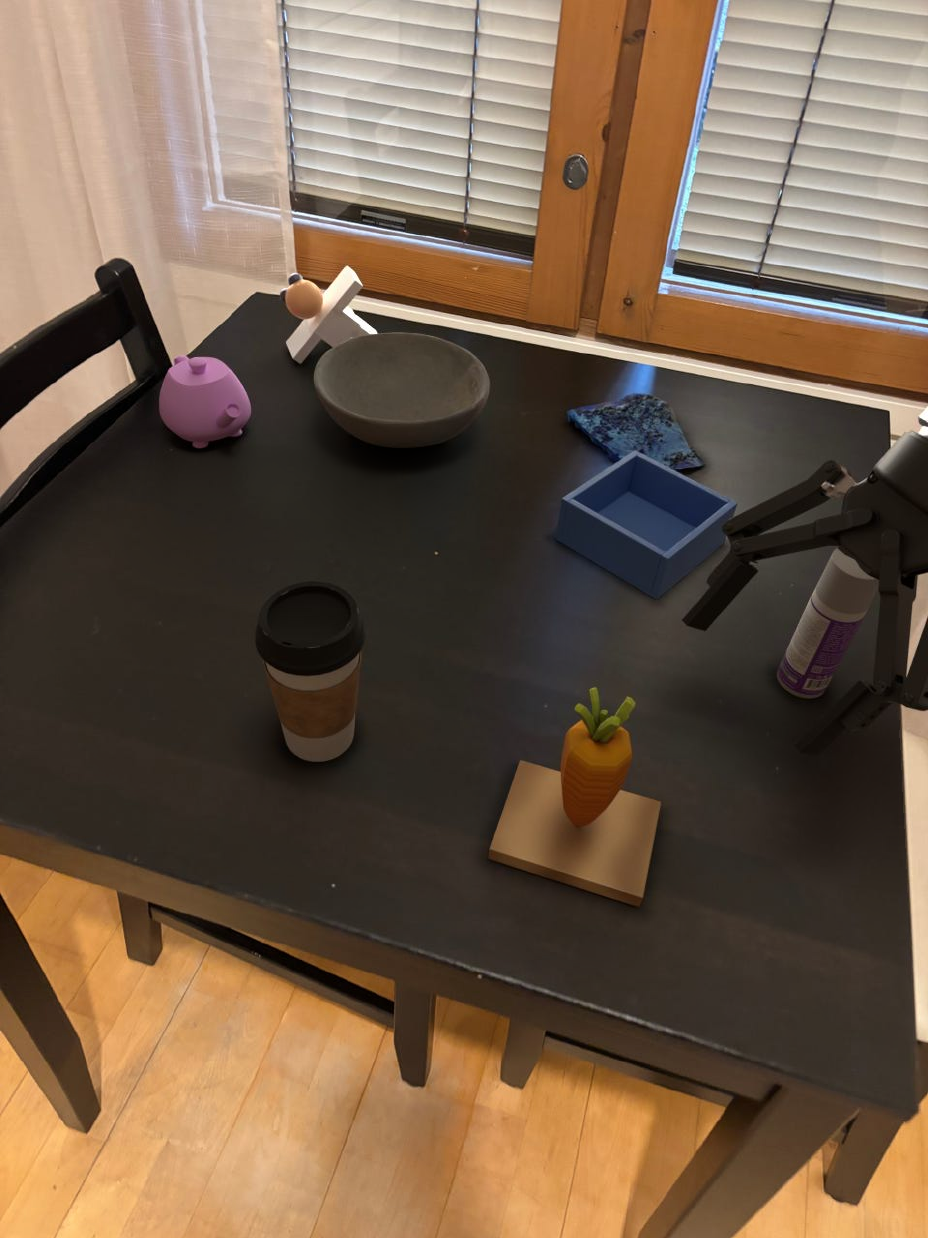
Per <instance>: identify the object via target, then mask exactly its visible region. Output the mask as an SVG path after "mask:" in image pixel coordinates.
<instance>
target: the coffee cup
mask: <svg viewBox="0 0 928 1238" xmlns="http://www.w3.org/2000/svg"><path fill="white" fill-rule="evenodd" d="M257 619H258V620H257V624H256V627H255V630H254V631H255V635H254V636H255V638H254V639H255V641H254V643H255V647H256V651H257V653H258V654H259V656H260V658H261V659H262V664H263V668H264V671H265V675H266V678H267V681H268V685H269V688H270V691H271V695H272V698H273V703H274V706H275V708H276V711H277V715H278V719H279V721H280V724H281V728H282V732H283V737H284V740H285V744H286V746H287V747H288V749H289V751H290V752H291V753H292V754H293V755H294V756H296V757H298V758H299V759H300V760H304V761H307V762H311V763H320V762H327V761H333V760H334V759H336V758H338V757H340V756H341V755H342V754H344V753H345V752H346V751H347V750H348V749H349V747H350V746H351V744H352V743H353V739H354V736H355V727H356V726H355V725H356V723H355V722H356V711H357V703H358V695H359V693H358V692H359V687H360V685H359V683H360V674H361V665H362V656H363V654H362V649H363V647H364V645H365V641H366V628H365V622H364V619H363V616H362V614H361V612H360V611H359V607H358V605H357V602H356V600H355V598H354V597H353V596H352V595H351V593H350V592H348V591H347V590H346V589H344V588H342V587H341V586H339V585H337V584H334V583H331V582H326V581H318V580H309V581H302V582H301V581H300V582H297V583H293V584H290V585H287V586H285V587H283V588H281V589H279V590H278V591H276V592H275V593H273V594H272V595H270V596H269V598H267V600H266V601H264V603H263V605H262V606H261V607H260V609H259V613H258V618H257Z"/></svg>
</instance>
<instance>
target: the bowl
mask: <svg viewBox="0 0 928 1238" xmlns="http://www.w3.org/2000/svg"><path fill="white" fill-rule="evenodd" d="M313 382H314V383H313V384H314V387H315V388H314V389H315V391H316V395H317V396H318V399H319V401H320V402H321V405H322V406H323V408H324V410H325V411H326V412H327V414H328V415H329V416H330V418H332V420H333V421H334V422H335V423H336V424H337V425H338V426H339V427H340V428H342V429H343V430H344V431H345V432H347V433H348V434H350V435H351V436H353V437H354V438H356V439H358V440H360V441H363V442H365V443H368V444H370V445H374V446H378V447H385V448H393V449H415V448H421V447H428V446H434V445H438V444H439V445H440V444H442V443H445V442H447V441H450V440H452V439H453V438H455V437H456V436H458V435H459V434H461V433H462V432H464V431H465V430H466V429H468V428H469V427H470V426H471V425H472V424H473V423H474V422H475V421H476V420H477V419H478V418H479V417H480V414H481V413H482V411H483V409H484V407H485V405H486V404H487V401H488V399H489V395H490V390H491V387H490V386H491V381H490V376H489V373H488V372H487V369H486V368H485V366H484V365H483V363H482V362H481V360H479V358H477V356H476V355H474V354H473V353H472V352H471V351H470V350H468V349H466V348H464V347H462V346H460V345H458V344H456V343H455V342H451V341H448V340H446V339H443V338H441V337H438V336H433V335H427V334H423V333H414V332H401V331H399V332H381V333H378V334H367V335H362V336H358V337H355V338H353V337H352V339H349V340H347V341H345V342H342V343H340V344H338V345H336V346H335V347H331V348H330V349H328V350H327V351H325V353H323V355H321V357H320V358H319V360H318V361H317V363H316V366H315V369H314V374H313Z"/></svg>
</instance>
